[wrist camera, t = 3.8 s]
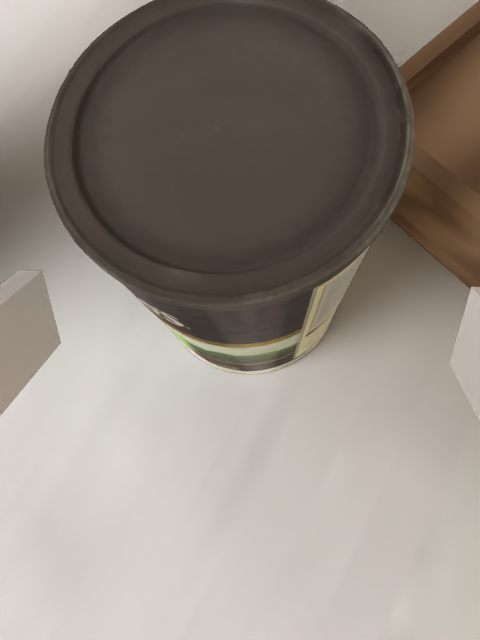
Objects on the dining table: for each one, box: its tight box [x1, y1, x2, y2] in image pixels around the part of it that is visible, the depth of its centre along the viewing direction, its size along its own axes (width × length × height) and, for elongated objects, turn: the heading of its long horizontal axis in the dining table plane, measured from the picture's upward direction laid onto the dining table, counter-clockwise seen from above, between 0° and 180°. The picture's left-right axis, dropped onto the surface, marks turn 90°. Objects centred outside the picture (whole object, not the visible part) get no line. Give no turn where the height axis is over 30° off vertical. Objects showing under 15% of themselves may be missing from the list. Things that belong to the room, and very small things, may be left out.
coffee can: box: [44, 0, 415, 374], centre depth 19 cm, size 10×10×14 cm
